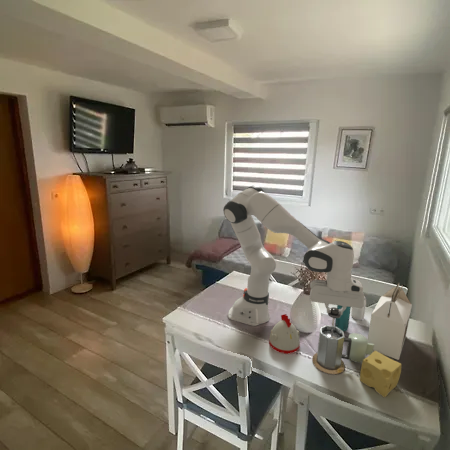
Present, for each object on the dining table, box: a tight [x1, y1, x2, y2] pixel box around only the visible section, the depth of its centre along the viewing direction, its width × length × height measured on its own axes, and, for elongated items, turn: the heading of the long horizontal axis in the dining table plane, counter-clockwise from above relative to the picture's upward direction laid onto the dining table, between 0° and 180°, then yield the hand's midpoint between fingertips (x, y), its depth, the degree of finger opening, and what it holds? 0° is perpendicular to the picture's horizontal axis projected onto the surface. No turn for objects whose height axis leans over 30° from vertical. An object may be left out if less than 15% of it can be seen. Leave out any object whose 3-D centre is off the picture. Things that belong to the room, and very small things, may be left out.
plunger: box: [323, 307, 341, 339], centre depth 119 cm, size 7×7×13 cm
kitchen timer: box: [268, 313, 301, 355], centre depth 134 cm, size 14×14×15 cm
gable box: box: [367, 282, 413, 361], centre depth 135 cm, size 22×13×28 cm, turn 142°
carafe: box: [311, 324, 352, 376], centre depth 121 cm, size 14×13×15 cm
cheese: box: [359, 350, 402, 398], centre depth 112 cm, size 10×11×10 cm
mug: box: [345, 332, 374, 363], centre depth 127 cm, size 10×8×9 cm
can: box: [350, 296, 367, 321], centre depth 157 cm, size 6×6×12 cm
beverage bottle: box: [334, 305, 352, 332], centre depth 144 cm, size 6×7×20 cm
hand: (334, 313), depth 118 cm, fingers closed on plunger, 3 cm apart
